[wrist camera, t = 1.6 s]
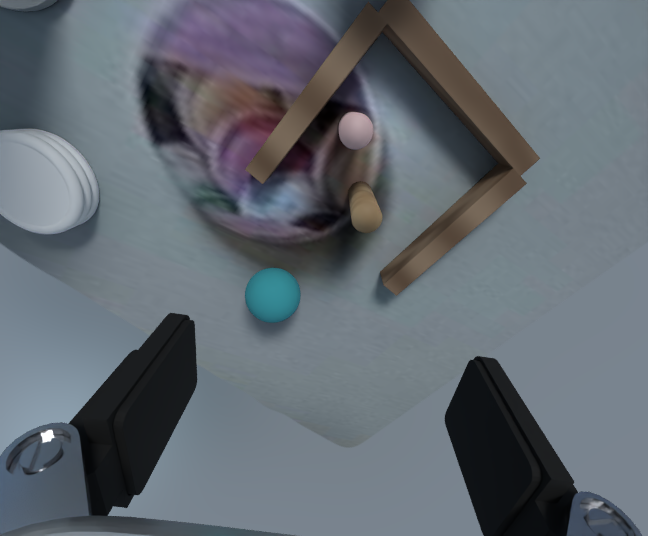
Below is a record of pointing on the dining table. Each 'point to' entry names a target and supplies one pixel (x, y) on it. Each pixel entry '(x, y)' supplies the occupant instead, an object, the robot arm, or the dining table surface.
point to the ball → (272, 295)
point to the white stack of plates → (44, 182)
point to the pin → (364, 208)
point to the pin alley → (458, 95)
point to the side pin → (355, 130)
